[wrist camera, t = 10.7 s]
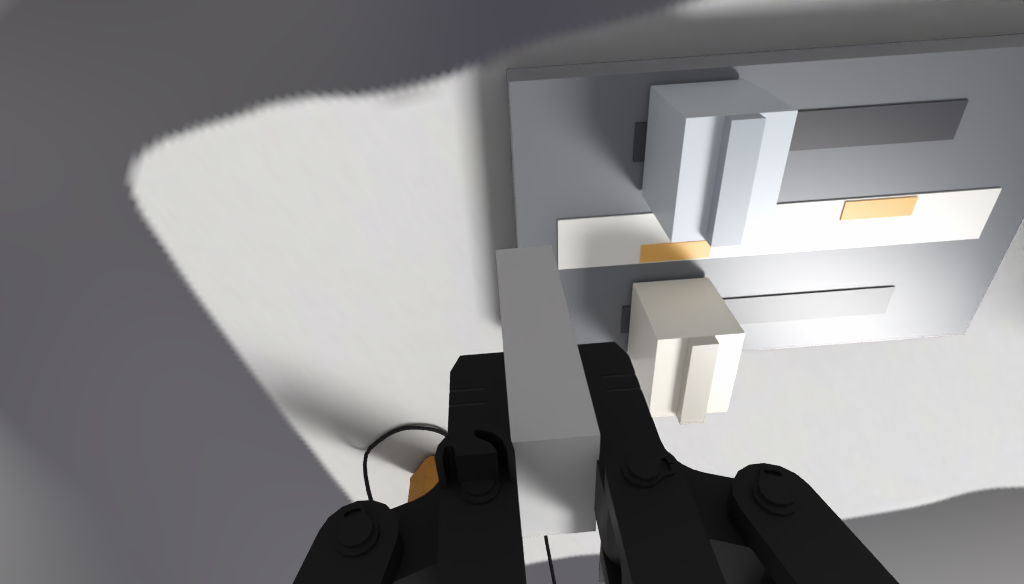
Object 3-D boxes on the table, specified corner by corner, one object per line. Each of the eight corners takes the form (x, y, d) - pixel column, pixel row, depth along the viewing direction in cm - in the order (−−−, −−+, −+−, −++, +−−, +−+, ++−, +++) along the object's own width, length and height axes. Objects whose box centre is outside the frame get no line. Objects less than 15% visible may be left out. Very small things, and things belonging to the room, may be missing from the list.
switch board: (1061, 31, 26) (1117, 41, 24) (935, 309, 35) (966, 336, 32) (506, 69, 25) (509, 82, 23) (521, 341, 34) (524, 370, 32)
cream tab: (708, 277, 29) (750, 341, 25) (695, 350, 32) (731, 420, 27) (632, 283, 29) (661, 348, 25) (627, 356, 32) (651, 426, 27)
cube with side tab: (743, 79, 24) (806, 115, 19) (725, 188, 26) (776, 242, 22) (650, 85, 24) (691, 123, 19) (641, 194, 26) (675, 249, 22)
